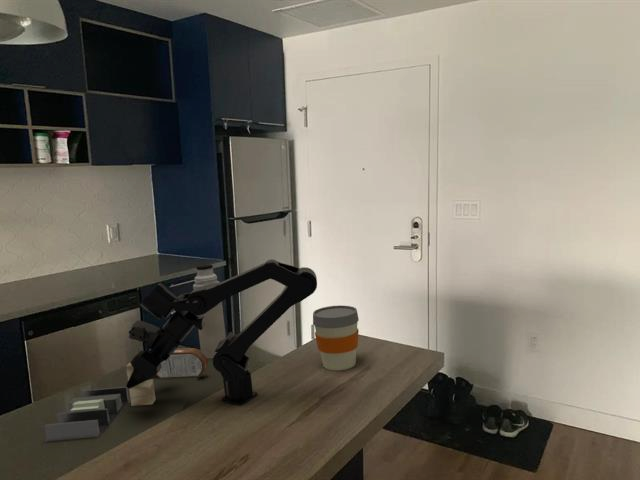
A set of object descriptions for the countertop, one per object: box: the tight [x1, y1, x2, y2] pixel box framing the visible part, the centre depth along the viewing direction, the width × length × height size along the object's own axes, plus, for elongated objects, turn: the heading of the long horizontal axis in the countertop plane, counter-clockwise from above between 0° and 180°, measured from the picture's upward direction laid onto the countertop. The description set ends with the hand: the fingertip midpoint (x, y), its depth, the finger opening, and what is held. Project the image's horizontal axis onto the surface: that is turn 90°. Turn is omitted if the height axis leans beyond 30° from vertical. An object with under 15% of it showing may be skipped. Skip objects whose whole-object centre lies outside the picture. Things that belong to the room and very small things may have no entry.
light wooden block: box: [125, 362, 156, 407], centre depth 120 cm, size 5×2×11 cm, turn 91°
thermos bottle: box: [192, 263, 227, 359], centre depth 153 cm, size 8×8×28 cm
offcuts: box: [70, 399, 105, 412], centre depth 113 cm, size 6×4×4 cm, turn 91°
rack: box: [43, 386, 131, 443], centre depth 114 cm, size 12×18×4 cm
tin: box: [155, 347, 209, 379], centre depth 136 cm, size 15×3×8 cm, turn 84°
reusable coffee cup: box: [312, 305, 359, 371], centre depth 136 cm, size 13×13×15 cm
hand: (134, 379), depth 120 cm, fingers open, 9 cm apart
